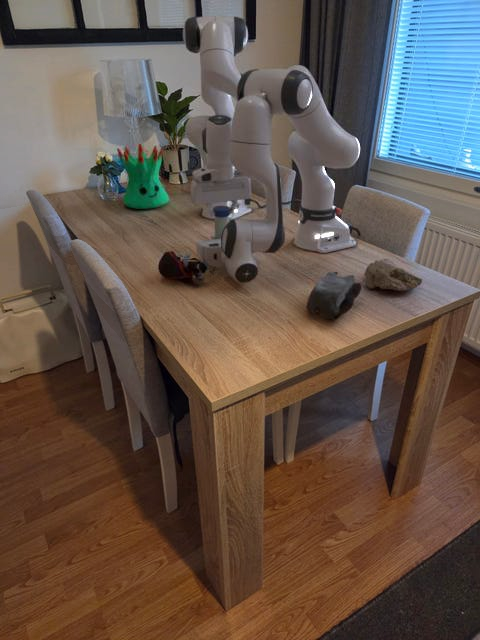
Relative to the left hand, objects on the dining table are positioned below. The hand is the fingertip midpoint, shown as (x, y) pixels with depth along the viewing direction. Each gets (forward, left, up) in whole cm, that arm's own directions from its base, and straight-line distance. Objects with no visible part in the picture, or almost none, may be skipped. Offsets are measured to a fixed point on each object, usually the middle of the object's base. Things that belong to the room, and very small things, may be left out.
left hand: (221, 214), depth 148 cm
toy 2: (+23, +7, -14) cm, 28 cm away
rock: (+2, +49, -14) cm, 51 cm away
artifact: (-22, +51, -14) cm, 58 cm away
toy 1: (-12, -67, -14) cm, 69 cm away
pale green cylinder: (0, 0, -14) cm, 14 cm away
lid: (0, 0, +2) cm, 2 cm away
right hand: (0, -1, -9) cm, 9 cm away
